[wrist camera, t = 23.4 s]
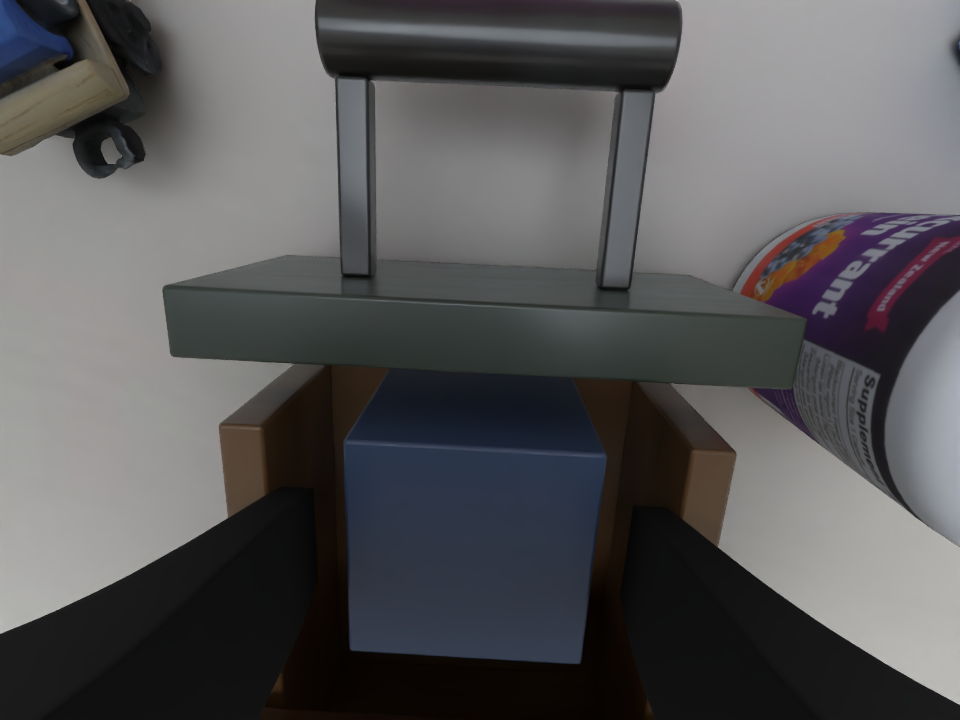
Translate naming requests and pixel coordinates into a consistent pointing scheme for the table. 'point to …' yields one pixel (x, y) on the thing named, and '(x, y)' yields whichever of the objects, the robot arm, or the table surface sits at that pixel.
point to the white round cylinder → (875, 349)
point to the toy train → (73, 77)
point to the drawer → (483, 345)
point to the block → (472, 517)
